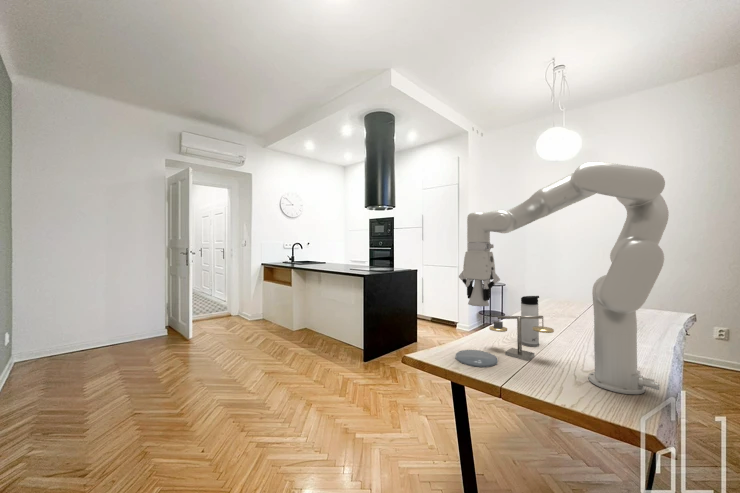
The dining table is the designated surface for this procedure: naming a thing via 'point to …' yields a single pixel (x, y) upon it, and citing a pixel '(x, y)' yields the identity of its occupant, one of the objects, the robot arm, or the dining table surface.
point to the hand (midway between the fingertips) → (478, 298)
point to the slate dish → (476, 358)
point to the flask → (477, 295)
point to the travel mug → (529, 321)
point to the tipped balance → (519, 335)
